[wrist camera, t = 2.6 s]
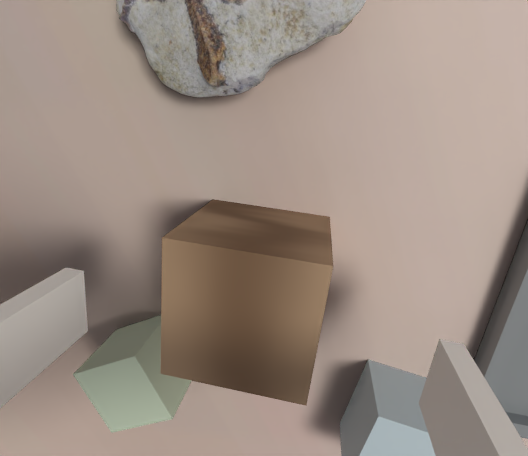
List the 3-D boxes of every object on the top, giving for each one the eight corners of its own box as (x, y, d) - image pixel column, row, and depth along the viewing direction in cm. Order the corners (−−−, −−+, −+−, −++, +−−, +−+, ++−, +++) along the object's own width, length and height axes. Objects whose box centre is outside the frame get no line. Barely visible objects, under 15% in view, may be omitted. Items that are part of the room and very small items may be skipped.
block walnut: (207, 299, 20) (160, 373, 14) (213, 199, 18) (161, 237, 12) (311, 319, 19) (306, 405, 13) (329, 216, 17) (333, 266, 11)
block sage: (147, 379, 22) (111, 432, 18) (116, 328, 21) (73, 374, 18) (199, 365, 21) (172, 418, 17) (169, 311, 20) (134, 356, 16)
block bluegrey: (339, 421, 21) (343, 488, 17) (367, 357, 19) (378, 416, 15) (420, 448, 20) (442, 522, 17) (456, 385, 19) (489, 453, 15)
